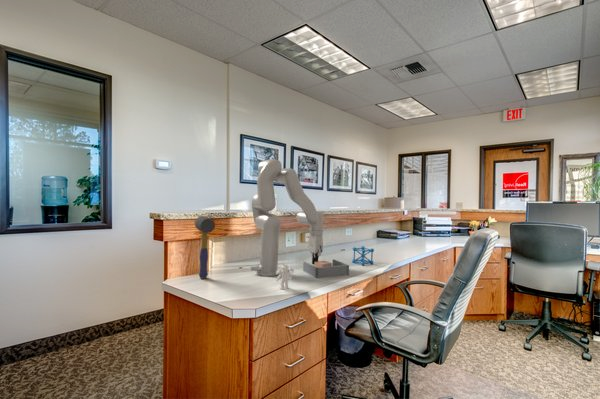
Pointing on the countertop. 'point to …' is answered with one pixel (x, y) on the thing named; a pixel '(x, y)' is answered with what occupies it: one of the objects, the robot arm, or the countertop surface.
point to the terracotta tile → (322, 264)
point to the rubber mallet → (204, 242)
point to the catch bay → (327, 269)
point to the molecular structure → (363, 255)
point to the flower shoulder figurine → (284, 275)
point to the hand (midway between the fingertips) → (315, 264)
